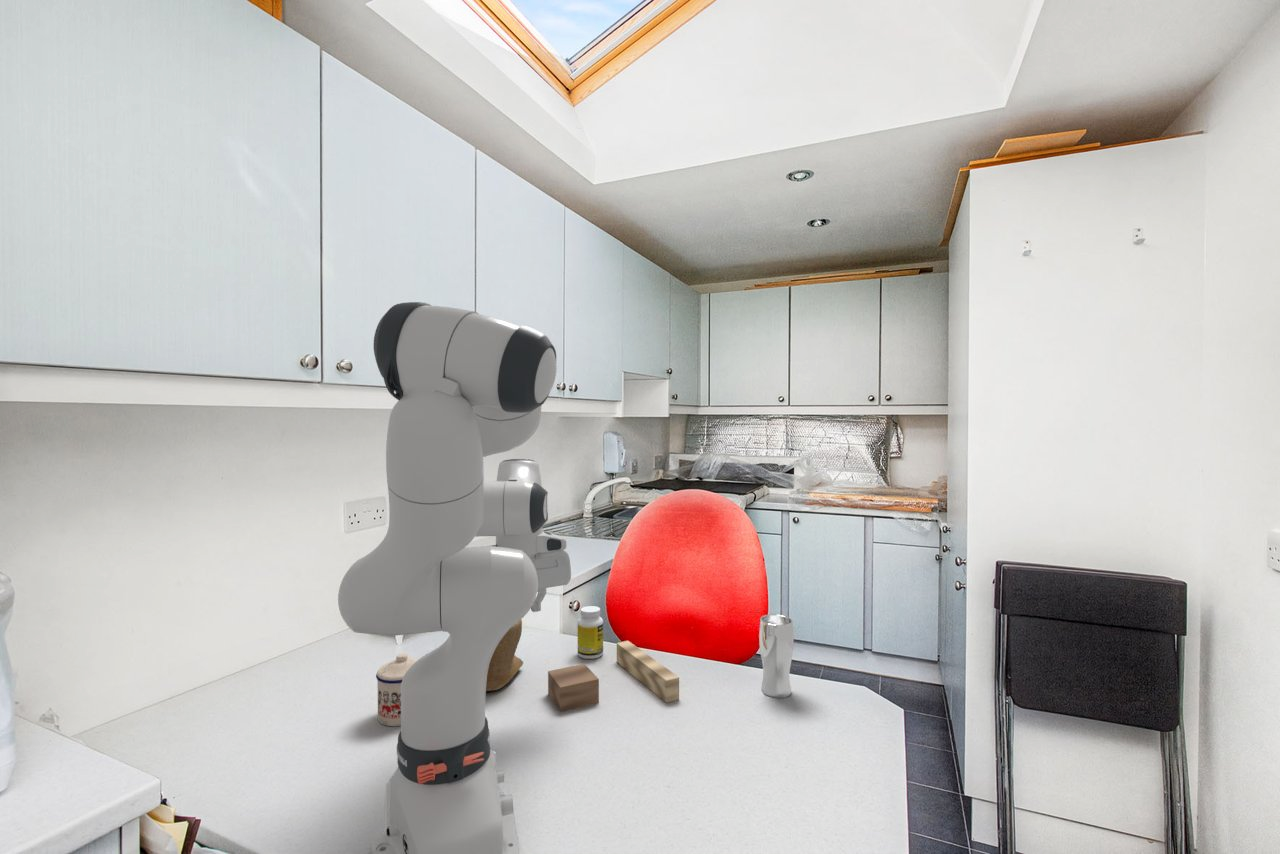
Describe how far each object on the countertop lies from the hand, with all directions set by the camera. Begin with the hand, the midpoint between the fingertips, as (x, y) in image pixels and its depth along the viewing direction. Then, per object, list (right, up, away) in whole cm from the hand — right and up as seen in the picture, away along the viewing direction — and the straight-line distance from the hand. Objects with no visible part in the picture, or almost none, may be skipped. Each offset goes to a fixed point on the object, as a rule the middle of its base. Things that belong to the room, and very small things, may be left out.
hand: (519, 613), depth 112 cm
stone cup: (-8, -19, +14) cm, 25 cm away
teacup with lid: (-21, -19, -1) cm, 29 cm away
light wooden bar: (+24, -19, +14) cm, 34 cm away
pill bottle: (+11, -19, +27) cm, 35 cm away
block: (+10, -19, +6) cm, 22 cm away
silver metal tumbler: (+52, -19, +9) cm, 56 cm away
